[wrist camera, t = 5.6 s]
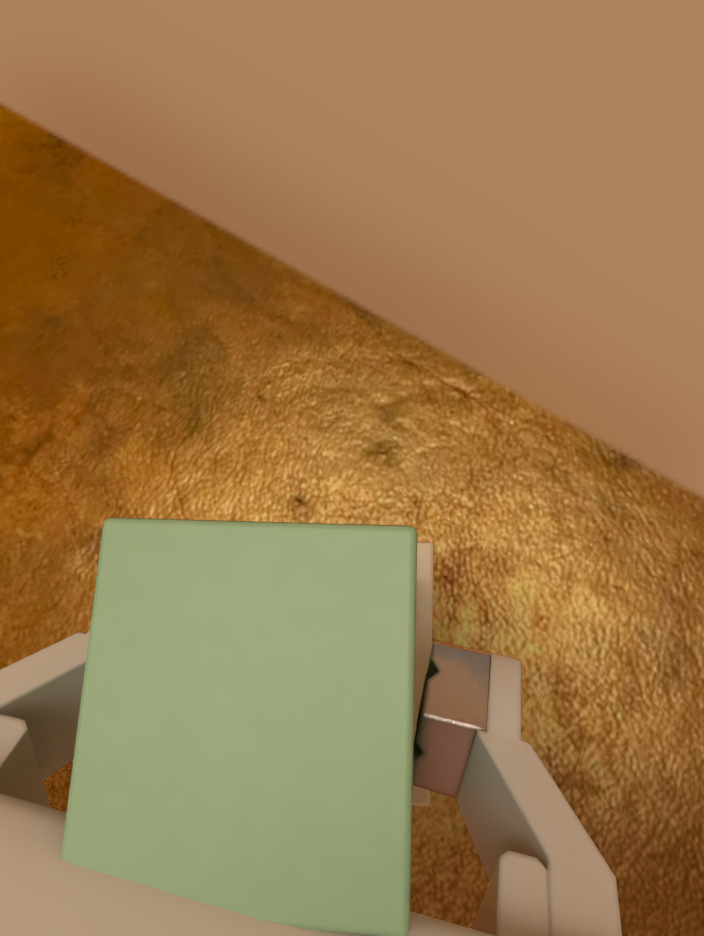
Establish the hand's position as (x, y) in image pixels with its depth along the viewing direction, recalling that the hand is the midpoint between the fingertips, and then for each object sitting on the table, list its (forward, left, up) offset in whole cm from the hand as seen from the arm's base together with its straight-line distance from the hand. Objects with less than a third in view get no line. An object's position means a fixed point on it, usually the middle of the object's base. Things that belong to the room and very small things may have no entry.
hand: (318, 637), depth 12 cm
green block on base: (0, +1, -6) cm, 6 cm away
